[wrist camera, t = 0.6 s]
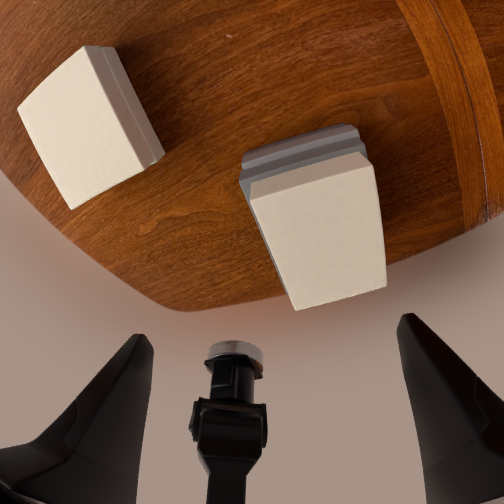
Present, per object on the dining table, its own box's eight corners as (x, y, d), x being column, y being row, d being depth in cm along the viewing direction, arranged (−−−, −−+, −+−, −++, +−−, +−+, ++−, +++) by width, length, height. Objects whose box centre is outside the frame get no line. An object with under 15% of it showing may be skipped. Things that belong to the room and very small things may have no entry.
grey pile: (368, 232, 22) (386, 269, 18) (283, 256, 23) (287, 296, 20) (344, 119, 17) (366, 135, 13) (241, 150, 18) (235, 174, 15)
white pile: (166, 153, 18) (148, 172, 16) (94, 190, 20) (72, 212, 17) (113, 44, 13) (85, 44, 10) (46, 97, 15) (16, 108, 12)
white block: (377, 263, 18) (387, 286, 16) (292, 287, 19) (295, 311, 18) (359, 150, 13) (373, 165, 12) (250, 182, 15) (249, 201, 13)
